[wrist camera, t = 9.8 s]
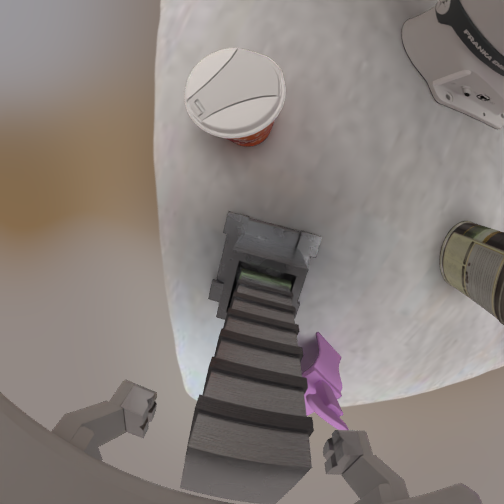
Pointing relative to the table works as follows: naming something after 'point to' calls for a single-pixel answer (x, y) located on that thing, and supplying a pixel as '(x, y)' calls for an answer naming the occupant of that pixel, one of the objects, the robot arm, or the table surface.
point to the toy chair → (325, 385)
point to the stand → (261, 256)
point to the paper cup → (235, 95)
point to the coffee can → (476, 265)
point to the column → (252, 401)
